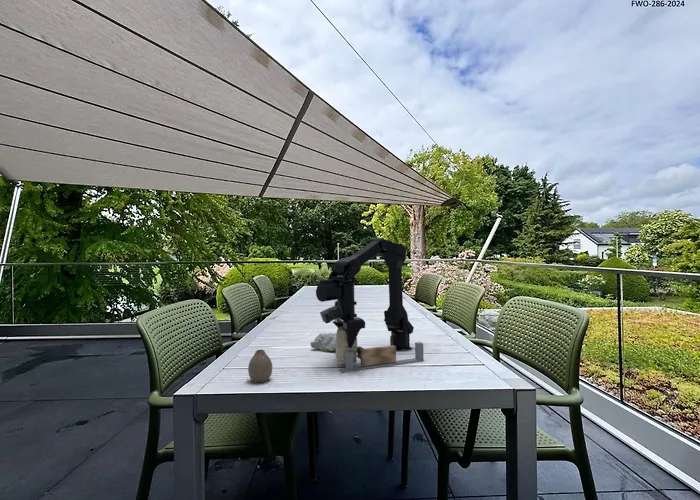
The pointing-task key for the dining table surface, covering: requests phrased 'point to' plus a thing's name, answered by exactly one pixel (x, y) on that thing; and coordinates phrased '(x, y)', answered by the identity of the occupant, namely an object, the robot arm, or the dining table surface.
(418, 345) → the grey bracket bar
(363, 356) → the brown boxy piece
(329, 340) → the rock
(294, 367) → the dining table surface
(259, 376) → the vase
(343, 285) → the robot arm
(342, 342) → the carving
